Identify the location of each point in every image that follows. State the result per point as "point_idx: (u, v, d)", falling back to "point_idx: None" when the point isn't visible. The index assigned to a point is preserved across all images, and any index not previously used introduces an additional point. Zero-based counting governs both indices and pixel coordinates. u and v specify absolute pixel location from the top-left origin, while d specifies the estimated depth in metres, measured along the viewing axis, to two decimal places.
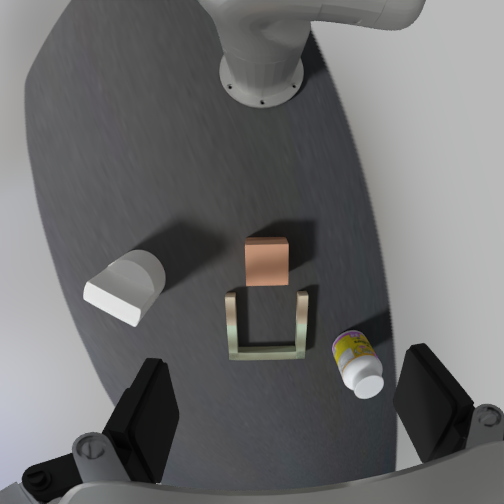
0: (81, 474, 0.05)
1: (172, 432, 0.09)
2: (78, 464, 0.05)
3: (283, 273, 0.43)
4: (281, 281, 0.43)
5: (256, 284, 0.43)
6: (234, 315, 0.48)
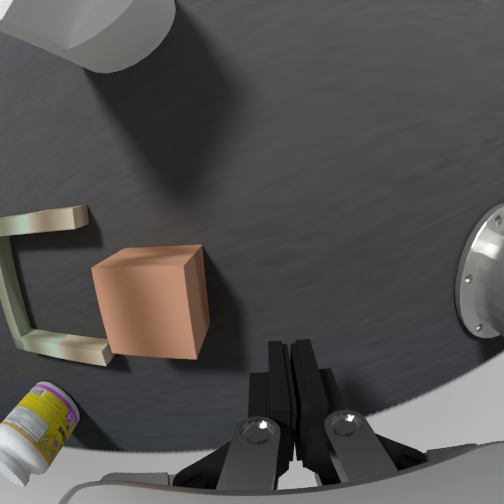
0: (229, 452, 0.06)
1: None
2: (233, 442, 0.06)
3: (131, 345, 0.17)
4: (115, 341, 0.17)
5: (98, 290, 0.17)
6: (44, 229, 0.19)
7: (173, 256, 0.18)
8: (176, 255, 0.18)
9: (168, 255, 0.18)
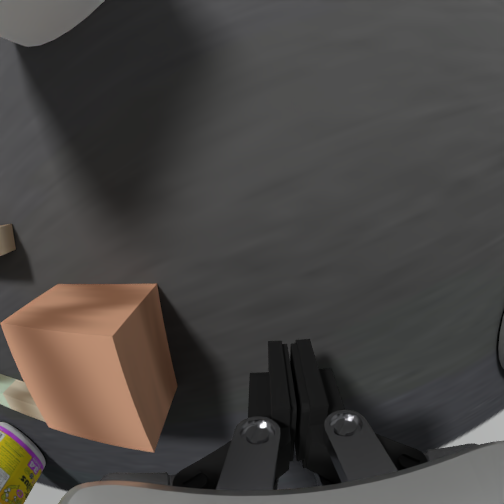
0: (228, 452, 0.06)
1: None
2: (232, 442, 0.06)
3: (67, 424, 0.10)
4: (48, 416, 0.10)
5: (13, 353, 0.09)
6: None
7: (107, 309, 0.11)
8: (112, 307, 0.11)
9: (102, 306, 0.11)
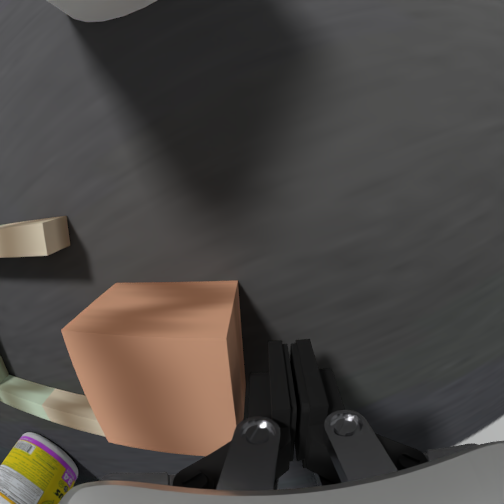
0: (229, 452, 0.06)
1: None
2: (232, 442, 0.06)
3: (137, 438, 0.10)
4: (112, 430, 0.10)
5: (76, 364, 0.09)
6: (6, 253, 0.11)
7: (198, 309, 0.11)
8: (203, 306, 0.11)
9: (189, 306, 0.11)
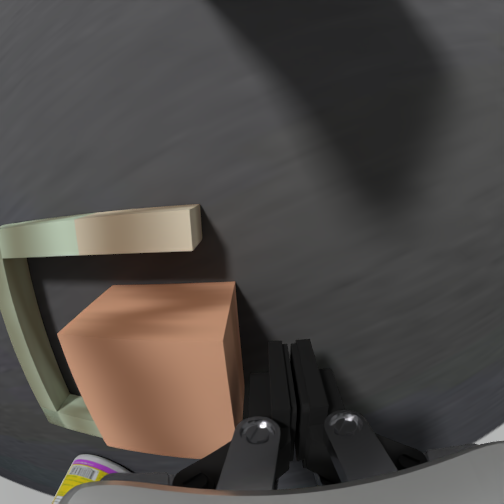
0: (229, 452, 0.06)
1: None
2: (232, 442, 0.06)
3: (135, 442, 0.10)
4: (110, 434, 0.10)
5: (73, 368, 0.09)
6: (114, 249, 0.11)
7: (195, 311, 0.10)
8: (200, 309, 0.11)
9: (185, 308, 0.11)
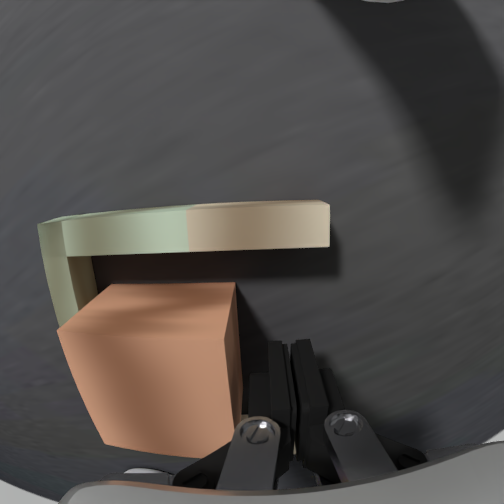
0: (229, 452, 0.06)
1: None
2: (232, 442, 0.06)
3: (133, 440, 0.10)
4: (108, 432, 0.10)
5: (72, 365, 0.09)
6: (239, 244, 0.11)
7: (196, 310, 0.10)
8: (200, 307, 0.11)
9: (186, 307, 0.11)
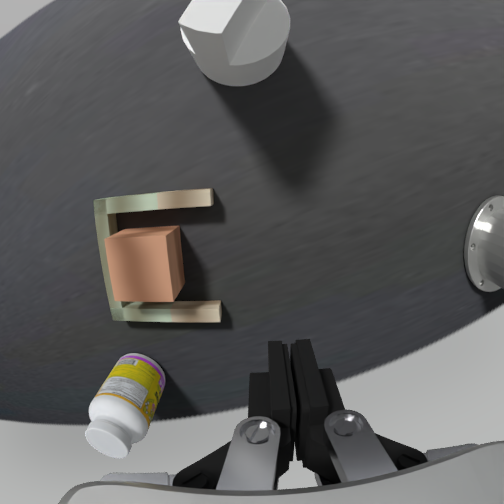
0: (229, 452, 0.06)
1: None
2: (232, 442, 0.06)
3: (129, 294, 0.26)
4: (117, 291, 0.26)
5: (108, 254, 0.25)
6: (176, 206, 0.27)
7: (159, 231, 0.26)
8: (161, 231, 0.27)
9: (156, 231, 0.27)
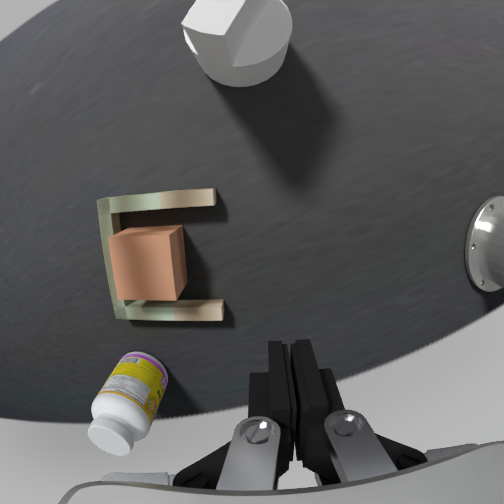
0: (229, 453, 0.06)
1: None
2: (233, 442, 0.06)
3: (132, 292, 0.26)
4: (121, 290, 0.26)
5: (111, 253, 0.25)
6: (179, 205, 0.27)
7: (162, 231, 0.27)
8: (164, 230, 0.27)
9: (159, 230, 0.27)
